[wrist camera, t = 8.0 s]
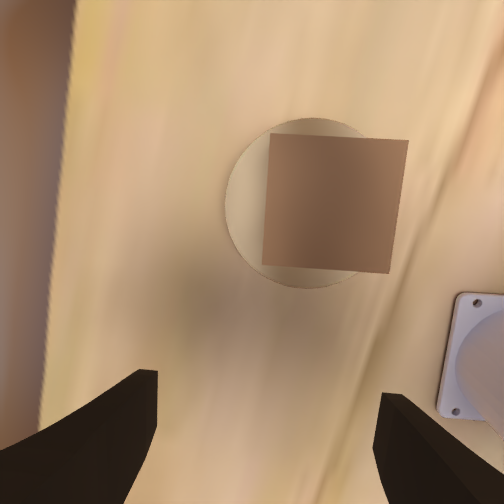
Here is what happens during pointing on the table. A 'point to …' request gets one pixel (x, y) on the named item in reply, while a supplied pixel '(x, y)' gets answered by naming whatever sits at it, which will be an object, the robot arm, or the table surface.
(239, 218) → the birch round
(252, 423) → the table surface
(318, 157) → the walnut cube
